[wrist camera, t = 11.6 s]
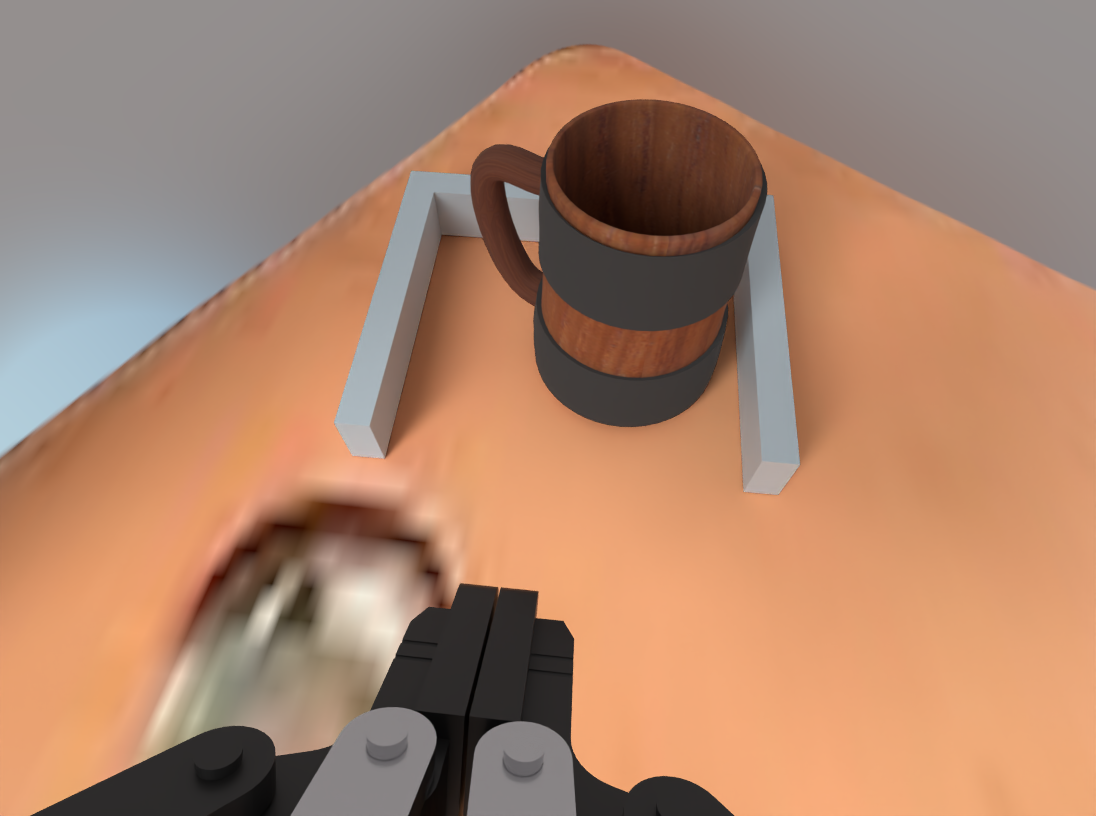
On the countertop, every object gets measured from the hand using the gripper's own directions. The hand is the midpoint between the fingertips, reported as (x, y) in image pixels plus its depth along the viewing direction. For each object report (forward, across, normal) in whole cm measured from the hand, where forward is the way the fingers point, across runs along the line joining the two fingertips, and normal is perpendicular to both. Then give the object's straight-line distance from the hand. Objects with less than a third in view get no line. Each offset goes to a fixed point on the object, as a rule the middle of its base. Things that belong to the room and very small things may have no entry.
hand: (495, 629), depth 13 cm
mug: (+22, -2, -2) cm, 22 cm away
